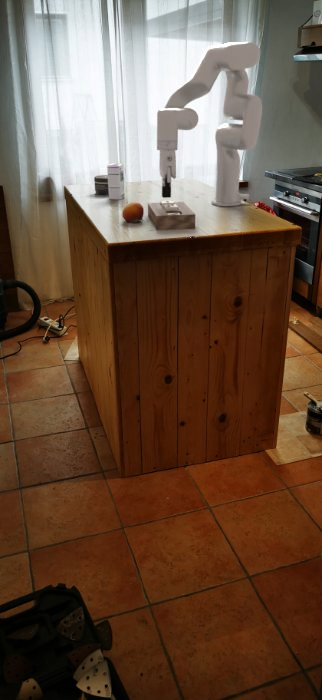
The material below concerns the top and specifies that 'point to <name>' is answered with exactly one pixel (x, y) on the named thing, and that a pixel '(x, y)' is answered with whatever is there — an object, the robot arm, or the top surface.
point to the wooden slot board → (171, 217)
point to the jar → (101, 184)
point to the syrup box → (115, 181)
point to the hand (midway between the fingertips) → (166, 197)
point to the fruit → (133, 212)
